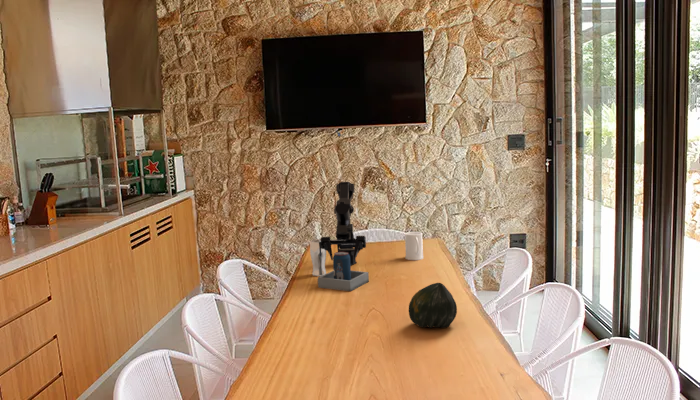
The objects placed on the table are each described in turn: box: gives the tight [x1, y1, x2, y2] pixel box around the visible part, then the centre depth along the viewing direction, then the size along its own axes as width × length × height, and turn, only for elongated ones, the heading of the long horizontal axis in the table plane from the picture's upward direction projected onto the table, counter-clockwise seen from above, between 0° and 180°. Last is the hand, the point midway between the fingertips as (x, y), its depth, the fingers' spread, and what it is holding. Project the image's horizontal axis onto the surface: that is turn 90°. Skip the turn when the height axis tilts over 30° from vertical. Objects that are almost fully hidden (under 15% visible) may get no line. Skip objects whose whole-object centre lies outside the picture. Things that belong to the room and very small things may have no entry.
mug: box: [404, 231, 424, 261], centre depth 288 cm, size 12×8×12 cm
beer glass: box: [309, 238, 327, 277], centre depth 266 cm, size 7×7×15 cm
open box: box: [317, 269, 370, 292], centre depth 250 cm, size 15×15×4 cm
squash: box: [408, 282, 458, 329], centre depth 197 cm, size 14×15×15 cm
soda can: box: [332, 251, 352, 280], centre depth 249 cm, size 7×7×12 cm
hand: (343, 259), depth 253 cm, fingers open, 9 cm apart
